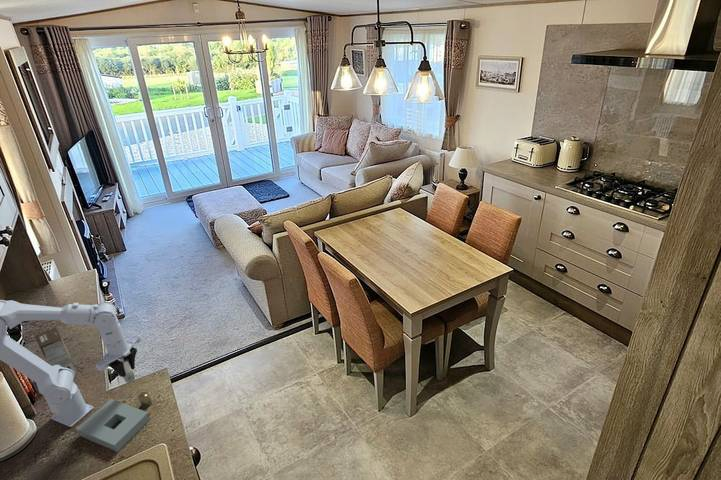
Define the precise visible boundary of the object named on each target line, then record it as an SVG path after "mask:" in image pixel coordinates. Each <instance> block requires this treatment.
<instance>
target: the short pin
mask: <svg viewBox="0 0 721 480" xmlns="http://www.w3.org/2000/svg"><path fill="white" fill-rule="evenodd" d="M137 397H138V398H137V399H138V401H139V403H140V405H141V408H142V409H148V408H149V407H151V406H152V399H151V397H150V394H149V392H148V391H143V392H141V393H140V394H138V396H137Z"/></svg>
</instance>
